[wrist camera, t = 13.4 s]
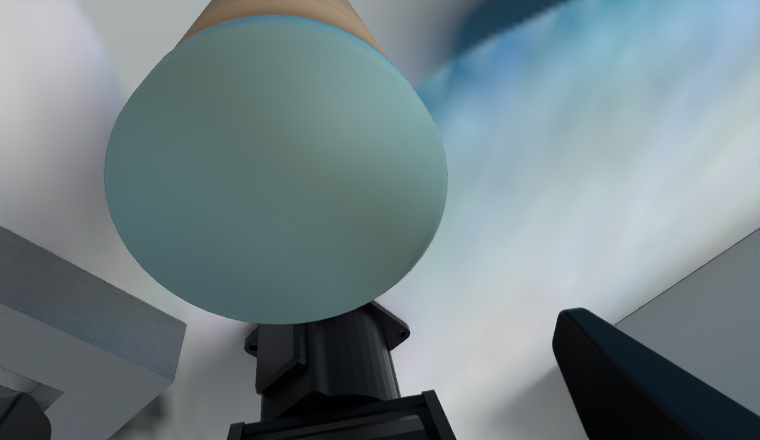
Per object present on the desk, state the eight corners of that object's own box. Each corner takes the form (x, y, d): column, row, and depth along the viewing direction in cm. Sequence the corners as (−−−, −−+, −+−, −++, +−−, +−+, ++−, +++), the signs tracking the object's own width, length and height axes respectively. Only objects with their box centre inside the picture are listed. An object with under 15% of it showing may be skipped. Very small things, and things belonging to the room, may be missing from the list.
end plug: (305, 118, 19) (329, 358, 9) (189, 44, 17) (48, 249, 7) (378, 13, 18) (511, 161, 7) (260, -84, 16) (213, -66, 5)
